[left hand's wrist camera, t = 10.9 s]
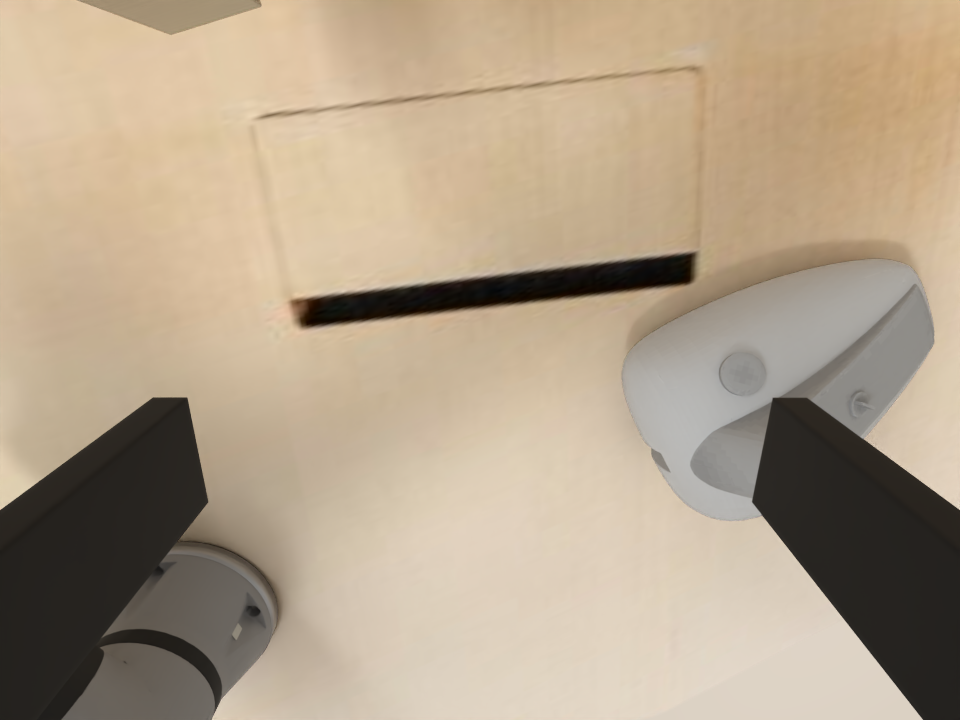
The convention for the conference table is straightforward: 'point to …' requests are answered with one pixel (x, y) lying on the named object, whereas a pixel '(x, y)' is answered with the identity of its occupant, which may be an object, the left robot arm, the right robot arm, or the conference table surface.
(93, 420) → the conference table surface
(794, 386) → the projector
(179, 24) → the bar
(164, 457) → the left robot arm
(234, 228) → the conference table surface
